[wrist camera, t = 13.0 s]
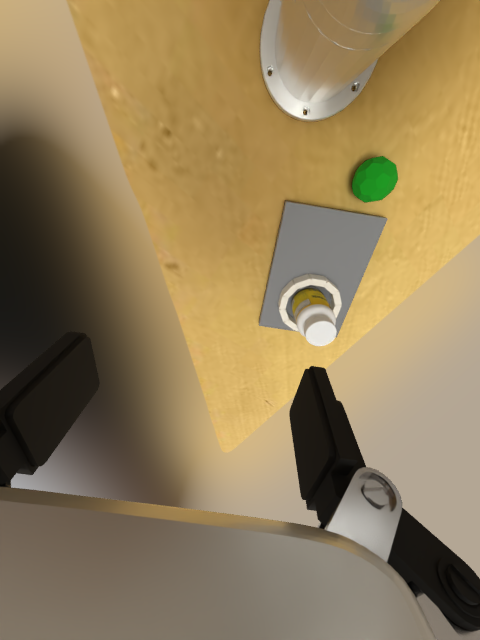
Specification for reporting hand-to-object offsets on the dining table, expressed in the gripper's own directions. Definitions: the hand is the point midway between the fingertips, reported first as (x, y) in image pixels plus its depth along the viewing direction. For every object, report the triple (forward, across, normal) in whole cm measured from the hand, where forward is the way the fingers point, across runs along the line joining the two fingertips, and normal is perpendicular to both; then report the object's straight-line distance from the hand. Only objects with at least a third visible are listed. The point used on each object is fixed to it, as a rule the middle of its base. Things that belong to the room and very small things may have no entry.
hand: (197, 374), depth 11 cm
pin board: (+30, -13, +5) cm, 33 cm away
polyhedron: (+31, -16, -9) cm, 36 cm away
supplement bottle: (+29, -13, +9) cm, 33 cm away
